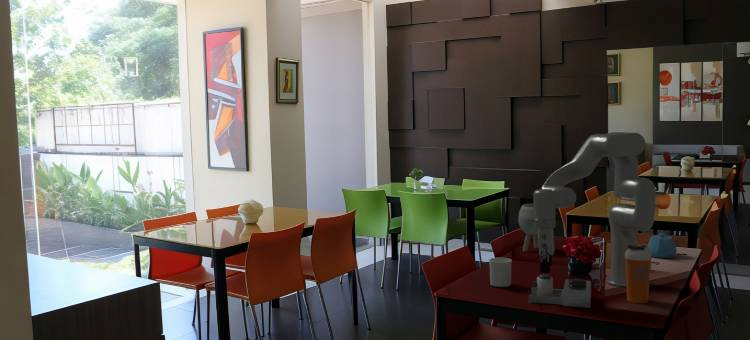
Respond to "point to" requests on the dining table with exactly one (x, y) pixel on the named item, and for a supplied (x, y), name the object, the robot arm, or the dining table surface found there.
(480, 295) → the dining table surface
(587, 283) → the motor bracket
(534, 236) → the grey tooth model
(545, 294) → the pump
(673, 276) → the dining table surface
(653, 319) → the dining table surface
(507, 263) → the mug
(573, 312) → the dining table surface
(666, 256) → the teapot
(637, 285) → the shaker bottle
